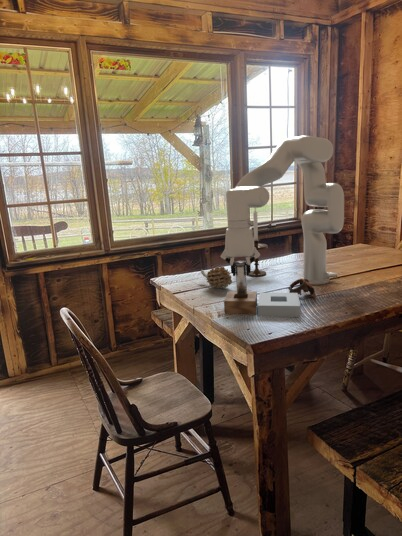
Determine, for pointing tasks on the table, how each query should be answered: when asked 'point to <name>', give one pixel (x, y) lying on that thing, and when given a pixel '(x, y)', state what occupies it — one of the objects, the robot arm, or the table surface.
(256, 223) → the candlestick
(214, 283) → the pine cone
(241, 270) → the lock pin
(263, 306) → the socket block
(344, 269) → the table surface
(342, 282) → the table surface
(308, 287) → the cracked clay ring
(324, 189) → the robot arm
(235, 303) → the mount block
